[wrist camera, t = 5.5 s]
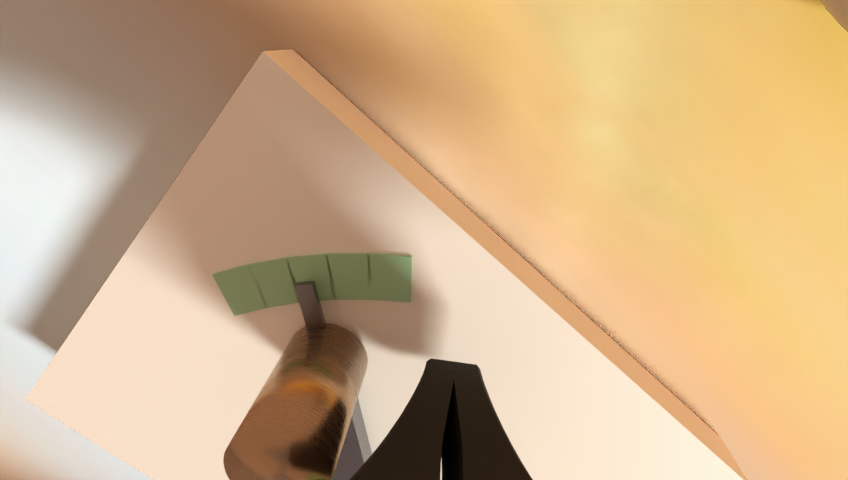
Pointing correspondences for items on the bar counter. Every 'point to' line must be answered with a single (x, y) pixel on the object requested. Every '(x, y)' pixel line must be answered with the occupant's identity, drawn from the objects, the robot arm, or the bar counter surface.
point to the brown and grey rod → (306, 407)
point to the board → (345, 305)
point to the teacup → (838, 11)
